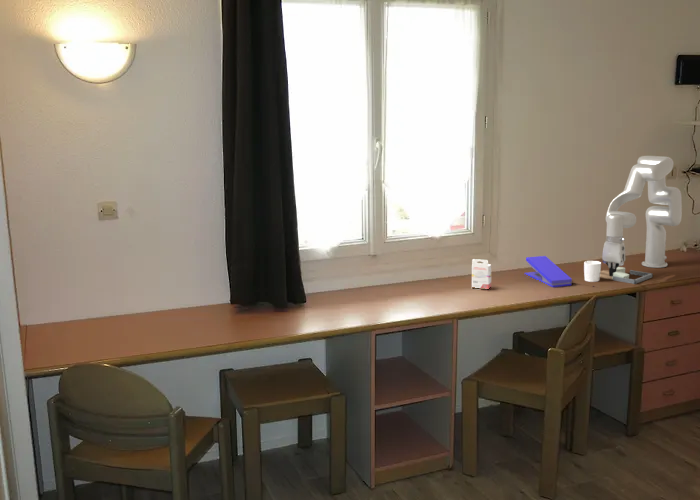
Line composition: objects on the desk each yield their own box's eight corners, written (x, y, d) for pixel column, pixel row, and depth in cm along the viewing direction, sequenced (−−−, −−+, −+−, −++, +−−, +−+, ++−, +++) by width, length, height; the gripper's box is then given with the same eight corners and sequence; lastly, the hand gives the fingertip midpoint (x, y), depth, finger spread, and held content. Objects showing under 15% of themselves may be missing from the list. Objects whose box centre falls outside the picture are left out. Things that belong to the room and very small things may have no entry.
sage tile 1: (617, 276, 357) (619, 270, 356) (628, 280, 353) (629, 274, 352) (612, 278, 353) (613, 272, 352) (622, 282, 350) (623, 276, 348)
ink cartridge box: (491, 288, 349) (491, 258, 346) (488, 290, 344) (488, 260, 341) (474, 286, 353) (474, 256, 350) (471, 288, 348) (471, 259, 345)
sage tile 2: (614, 272, 367) (615, 266, 366) (625, 273, 363) (625, 267, 362) (609, 274, 363) (609, 268, 363) (619, 275, 359) (619, 269, 359)
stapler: (542, 273, 375) (543, 254, 373) (573, 286, 348) (573, 266, 346) (522, 275, 372) (523, 256, 370) (551, 288, 345) (552, 268, 343)
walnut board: (604, 272, 372) (604, 269, 372) (629, 276, 362) (629, 273, 362) (588, 277, 362) (588, 275, 362) (613, 282, 352) (613, 279, 352)
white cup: (597, 285, 348) (598, 264, 346) (581, 283, 352) (581, 263, 350) (602, 281, 354) (603, 261, 352) (586, 279, 358) (587, 260, 356)
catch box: (630, 275, 363) (630, 270, 362) (652, 279, 355) (652, 273, 354) (612, 282, 352) (613, 276, 351) (635, 286, 343) (635, 280, 343)
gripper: (632, 240, 349) (630, 277, 353) (604, 236, 360) (602, 272, 364) (624, 242, 345) (623, 279, 348) (596, 238, 356) (594, 274, 359)
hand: (612, 275), depth 356 cm, fingers closed
